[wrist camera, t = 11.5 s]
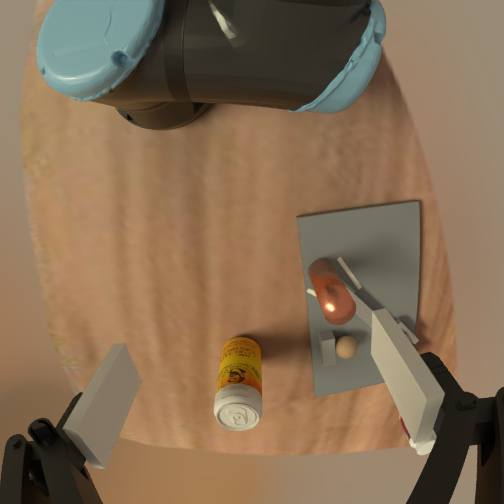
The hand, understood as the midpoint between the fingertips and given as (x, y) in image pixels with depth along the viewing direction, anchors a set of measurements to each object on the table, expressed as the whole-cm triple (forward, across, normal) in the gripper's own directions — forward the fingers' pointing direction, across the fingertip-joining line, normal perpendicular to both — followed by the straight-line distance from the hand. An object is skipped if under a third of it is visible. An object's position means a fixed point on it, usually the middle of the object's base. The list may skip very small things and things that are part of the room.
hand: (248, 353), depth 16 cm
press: (+29, +15, -16) cm, 36 cm away
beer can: (+29, -5, -20) cm, 35 cm away
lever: (+27, +16, -17) cm, 36 cm away
